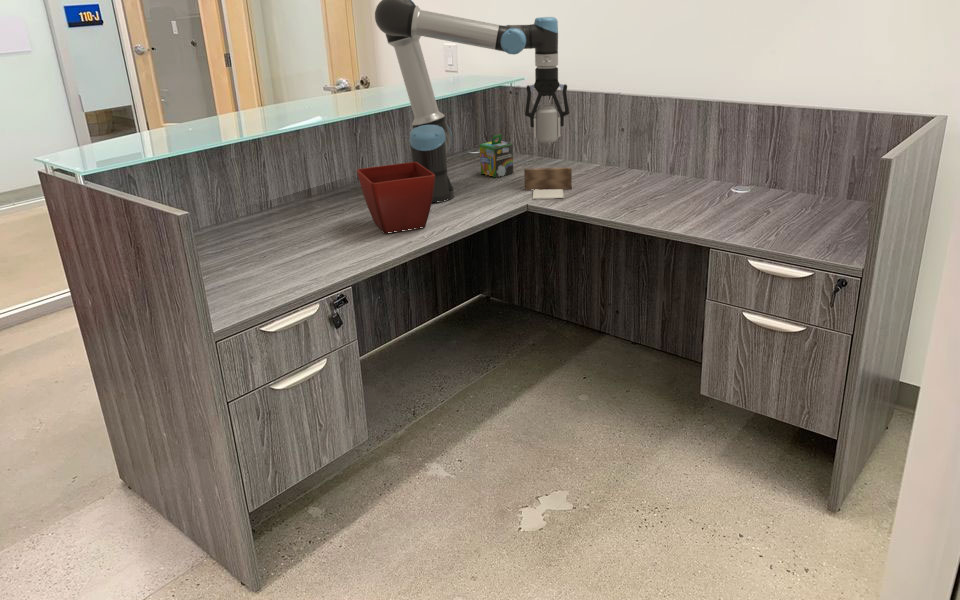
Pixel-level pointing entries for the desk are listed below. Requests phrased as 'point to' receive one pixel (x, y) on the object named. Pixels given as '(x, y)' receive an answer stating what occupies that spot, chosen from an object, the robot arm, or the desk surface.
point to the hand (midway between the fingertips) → (547, 136)
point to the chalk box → (496, 157)
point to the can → (547, 123)
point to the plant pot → (398, 195)
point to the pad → (548, 194)
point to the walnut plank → (548, 178)
